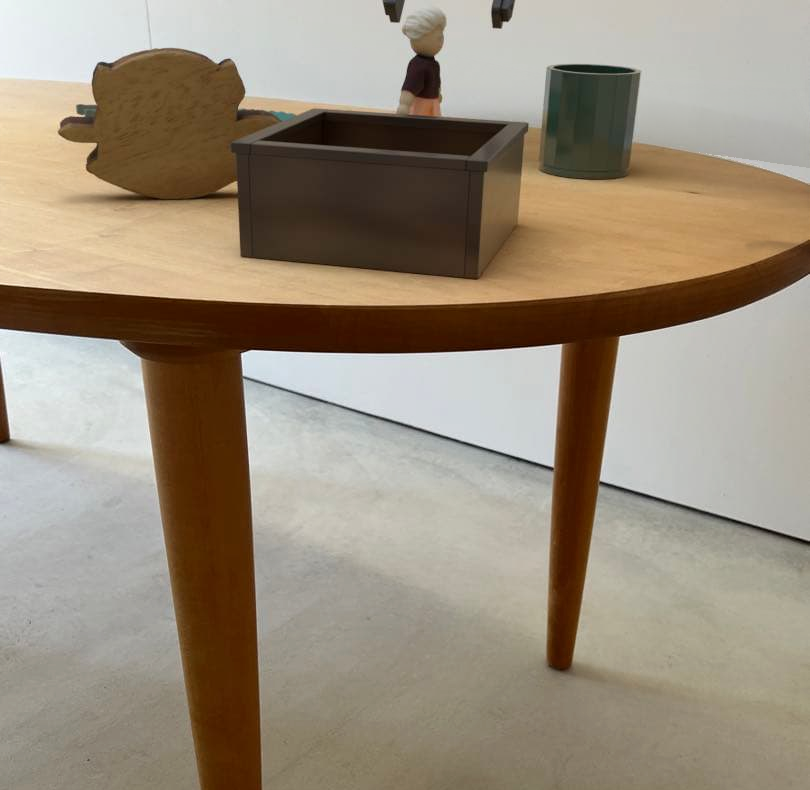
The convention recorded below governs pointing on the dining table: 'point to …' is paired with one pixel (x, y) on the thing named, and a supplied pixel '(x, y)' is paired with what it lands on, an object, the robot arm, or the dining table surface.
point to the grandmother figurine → (423, 63)
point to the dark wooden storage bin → (380, 190)
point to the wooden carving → (166, 123)
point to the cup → (588, 120)
